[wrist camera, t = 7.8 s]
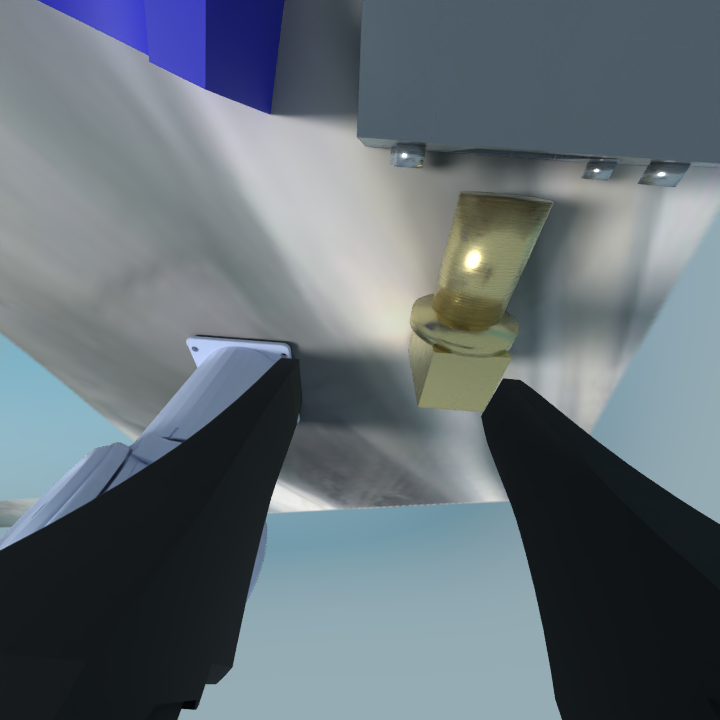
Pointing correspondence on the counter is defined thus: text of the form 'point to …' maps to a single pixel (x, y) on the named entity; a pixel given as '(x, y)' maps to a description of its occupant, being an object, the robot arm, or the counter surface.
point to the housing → (544, 82)
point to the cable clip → (197, 39)
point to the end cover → (473, 301)
